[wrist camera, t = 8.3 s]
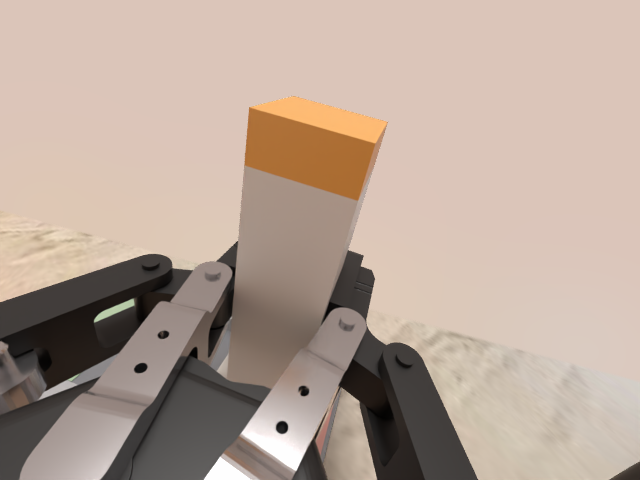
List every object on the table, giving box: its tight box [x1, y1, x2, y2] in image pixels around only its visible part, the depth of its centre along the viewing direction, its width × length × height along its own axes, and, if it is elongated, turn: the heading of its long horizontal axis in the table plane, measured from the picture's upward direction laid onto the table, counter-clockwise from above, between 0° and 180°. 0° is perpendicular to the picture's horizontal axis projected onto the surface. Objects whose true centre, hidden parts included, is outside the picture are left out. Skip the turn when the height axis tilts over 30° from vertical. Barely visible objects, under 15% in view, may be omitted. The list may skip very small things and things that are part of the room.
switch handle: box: [217, 96, 388, 389], centre depth 12 cm, size 5×4×13 cm
